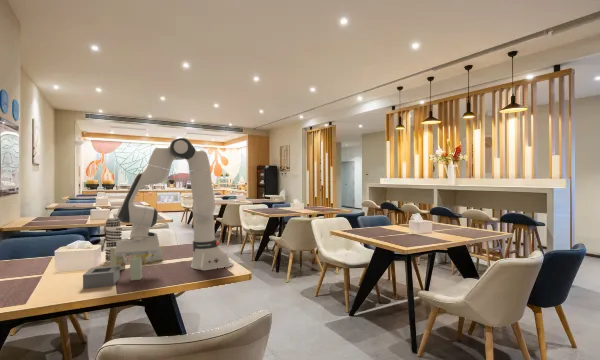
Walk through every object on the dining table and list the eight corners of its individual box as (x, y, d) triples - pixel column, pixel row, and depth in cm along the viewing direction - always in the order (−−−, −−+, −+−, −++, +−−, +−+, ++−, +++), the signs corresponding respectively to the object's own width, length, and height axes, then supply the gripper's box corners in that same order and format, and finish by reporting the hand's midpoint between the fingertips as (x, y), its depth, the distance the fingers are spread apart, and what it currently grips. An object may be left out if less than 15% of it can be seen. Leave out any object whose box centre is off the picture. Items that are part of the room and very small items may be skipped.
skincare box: (117, 271, 169) (116, 248, 169) (109, 271, 170) (109, 248, 170) (126, 268, 175) (125, 245, 175) (119, 267, 176) (118, 245, 176)
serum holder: (119, 277, 158) (119, 265, 158) (113, 285, 147) (113, 272, 147) (91, 280, 155) (91, 267, 155) (83, 288, 143) (82, 275, 143)
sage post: (142, 276, 160) (141, 256, 160) (140, 279, 156) (140, 258, 155) (132, 277, 158) (131, 257, 158) (130, 280, 154) (130, 259, 154)
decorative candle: (120, 257, 199) (119, 217, 198) (124, 260, 192) (123, 218, 192) (103, 260, 193) (102, 218, 192) (106, 263, 186) (106, 219, 185)
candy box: (161, 259, 193) (160, 245, 193) (162, 260, 192) (162, 246, 192) (132, 265, 182) (131, 250, 182) (133, 265, 180) (133, 251, 180)
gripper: (115, 235, 163) (111, 259, 153) (160, 233, 169) (157, 256, 159) (118, 242, 167) (113, 266, 158) (161, 240, 173) (159, 263, 164)
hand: (136, 261), depth 159 cm, fingers open, 8 cm apart
